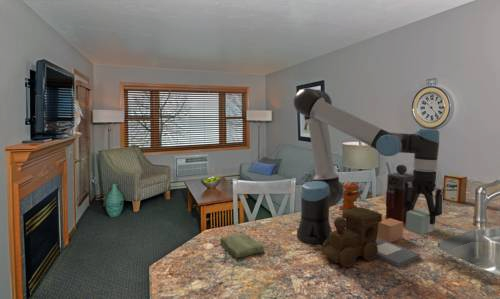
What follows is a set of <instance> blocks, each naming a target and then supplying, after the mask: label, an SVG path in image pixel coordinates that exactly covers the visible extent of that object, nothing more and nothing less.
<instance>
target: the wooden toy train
mask: <svg viewBox="0 0 500 299" xmlns="http://www.w3.org/2000/svg"><path fill="white" fill-rule="evenodd" d="M382 220H383V214H382V213H379V212H377V211H375V210H372V209H369V208H366V207H365V208H364V207H358V208H352V209H347V210H344V211H343V210H342V216H337V217H336V218H335V219H334V220H333V224H334V227H335V230H332V232H330V233H329V238H328V239H327V240H325V242H324V243H323V244H322V248H321V249H322V251H321V252H322V253H321V254H322V255H324V256H325V257H327V258H329V260H332V261H334V262H335V263H340V265H341V266H342V268H350V267H353V265H354V264H355V263H356V260H357V258H358V257H361V256H362V258H363V259H364V260H365V261H366V262H367V261H368V262H370V261H373V260H374V259H376V258H377V257H376V255H377V252H378V247H377V243H376V239H377V234H378V223H379V222H382Z"/></svg>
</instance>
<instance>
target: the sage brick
mask: <svg viewBox="0 0 500 299" xmlns="http://www.w3.org/2000/svg"><path fill="white" fill-rule="evenodd" d="M414 209H415V210H411V211H408V212H407V215H406V223H405V228H404V229H405V230H407V231H409V232H412V233H416V234H417V235H420V236H422V235H424V234H428V233H427V232H426V226H427V215H430V214H429V210H427V209H423V208H420V207H419V208H417V209H416V208H414ZM435 224H436V223H435ZM435 224H433V225H432V232H433V231H435Z"/></svg>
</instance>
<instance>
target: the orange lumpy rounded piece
mask: <svg viewBox="0 0 500 299" xmlns="http://www.w3.org/2000/svg"><path fill="white" fill-rule="evenodd" d="M342 186H343V188H344V194H343V197H342V205H340V206H339V209H338V211H339V212H340V211H342V212H343V211H344V210H347V209H352V208H359V207H358V206H357V205H355V201H357V199H359V197H360V196H361V192H360V191H359V190H360V186H359V185H358V184H356V183H355V181H352V182H347V183H344V184H342Z"/></svg>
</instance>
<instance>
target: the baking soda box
mask: <svg viewBox="0 0 500 299" xmlns="http://www.w3.org/2000/svg"><path fill="white" fill-rule="evenodd" d="M467 184H468V176H465V175H464V176H463V175H459V174H458V175H457V174H446V175H443V188H442V189H444V192H443V195H442V201H446V202H450V203H454V204H460V205H461V204H464V203H466V200H467V199H466V198H467V186H468V185H467Z"/></svg>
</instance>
